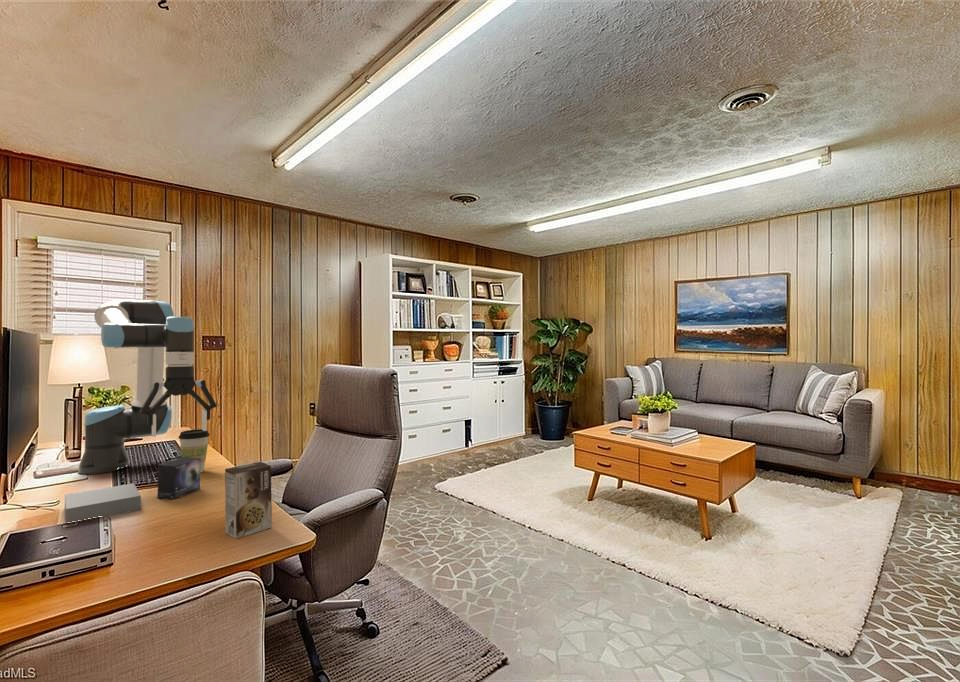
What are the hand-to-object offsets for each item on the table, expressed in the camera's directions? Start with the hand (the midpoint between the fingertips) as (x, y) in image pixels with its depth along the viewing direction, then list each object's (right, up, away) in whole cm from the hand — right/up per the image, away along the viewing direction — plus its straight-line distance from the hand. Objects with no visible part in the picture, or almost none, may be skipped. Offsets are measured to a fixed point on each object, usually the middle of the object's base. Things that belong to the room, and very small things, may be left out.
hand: (179, 433), depth 147 cm
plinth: (-13, -19, -14) cm, 27 cm away
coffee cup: (-11, -20, +25) cm, 34 cm away
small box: (0, -19, 0) cm, 19 cm away
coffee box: (+36, -19, -29) cm, 50 cm away
